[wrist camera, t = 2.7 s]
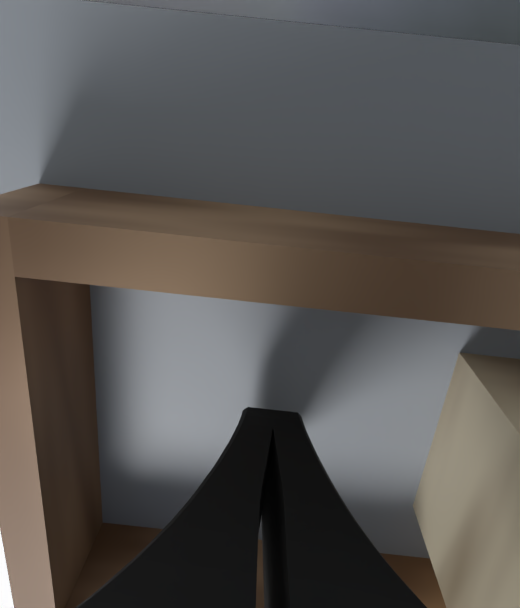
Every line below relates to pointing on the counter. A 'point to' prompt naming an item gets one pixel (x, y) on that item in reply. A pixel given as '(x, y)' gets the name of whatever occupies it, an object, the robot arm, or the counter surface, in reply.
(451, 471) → the block
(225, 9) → the counter surface
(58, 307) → the frame
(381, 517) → the deck
